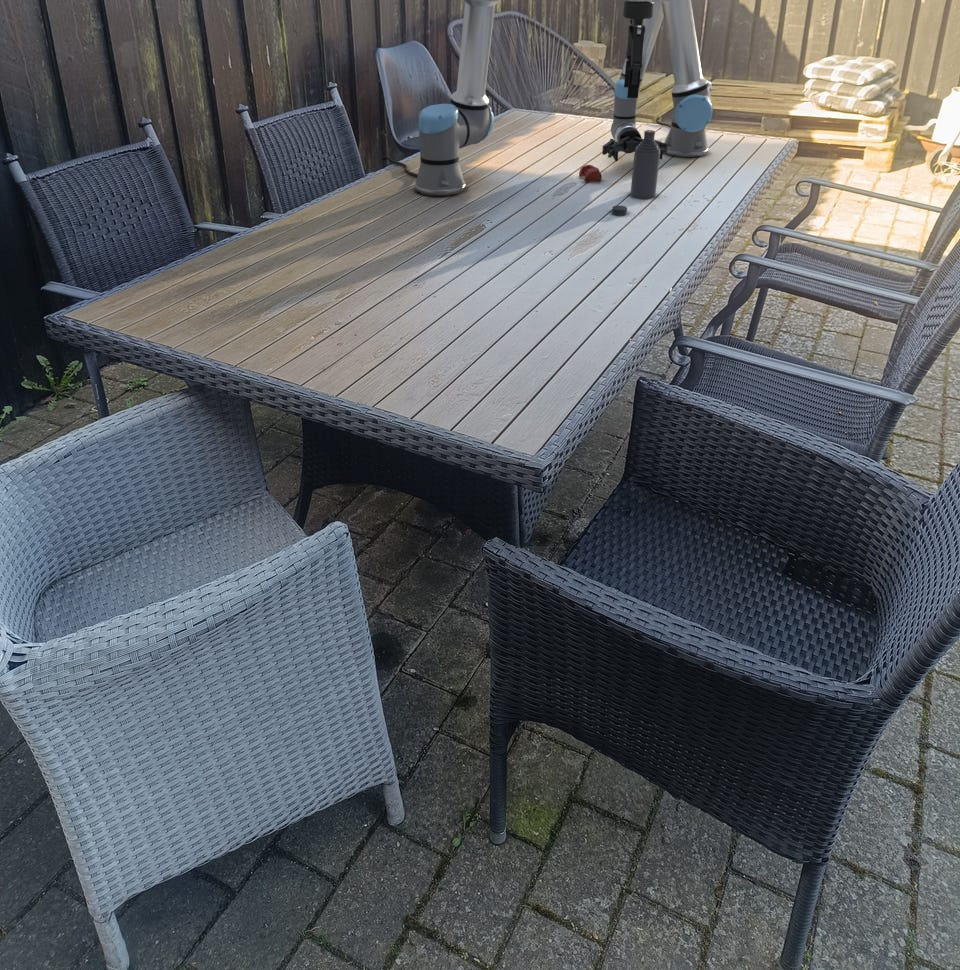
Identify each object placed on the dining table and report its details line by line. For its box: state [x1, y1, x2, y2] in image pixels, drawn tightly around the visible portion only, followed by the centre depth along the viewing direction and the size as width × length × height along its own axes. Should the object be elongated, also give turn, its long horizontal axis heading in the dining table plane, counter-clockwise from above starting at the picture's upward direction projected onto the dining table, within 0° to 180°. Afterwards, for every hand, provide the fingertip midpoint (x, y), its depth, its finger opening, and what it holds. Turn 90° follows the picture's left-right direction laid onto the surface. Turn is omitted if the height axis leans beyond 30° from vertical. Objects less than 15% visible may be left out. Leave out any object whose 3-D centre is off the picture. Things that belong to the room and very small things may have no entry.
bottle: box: [629, 129, 660, 200], centre depth 249 cm, size 7×7×18 cm
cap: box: [611, 205, 628, 217], centre depth 240 cm, size 4×4×2 cm
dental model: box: [578, 164, 603, 183], centre depth 266 cm, size 6×4×8 cm
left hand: (630, 92), depth 222 cm, fingers open, 13 cm apart
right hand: (639, 155), depth 256 cm, fingers open, 13 cm apart
